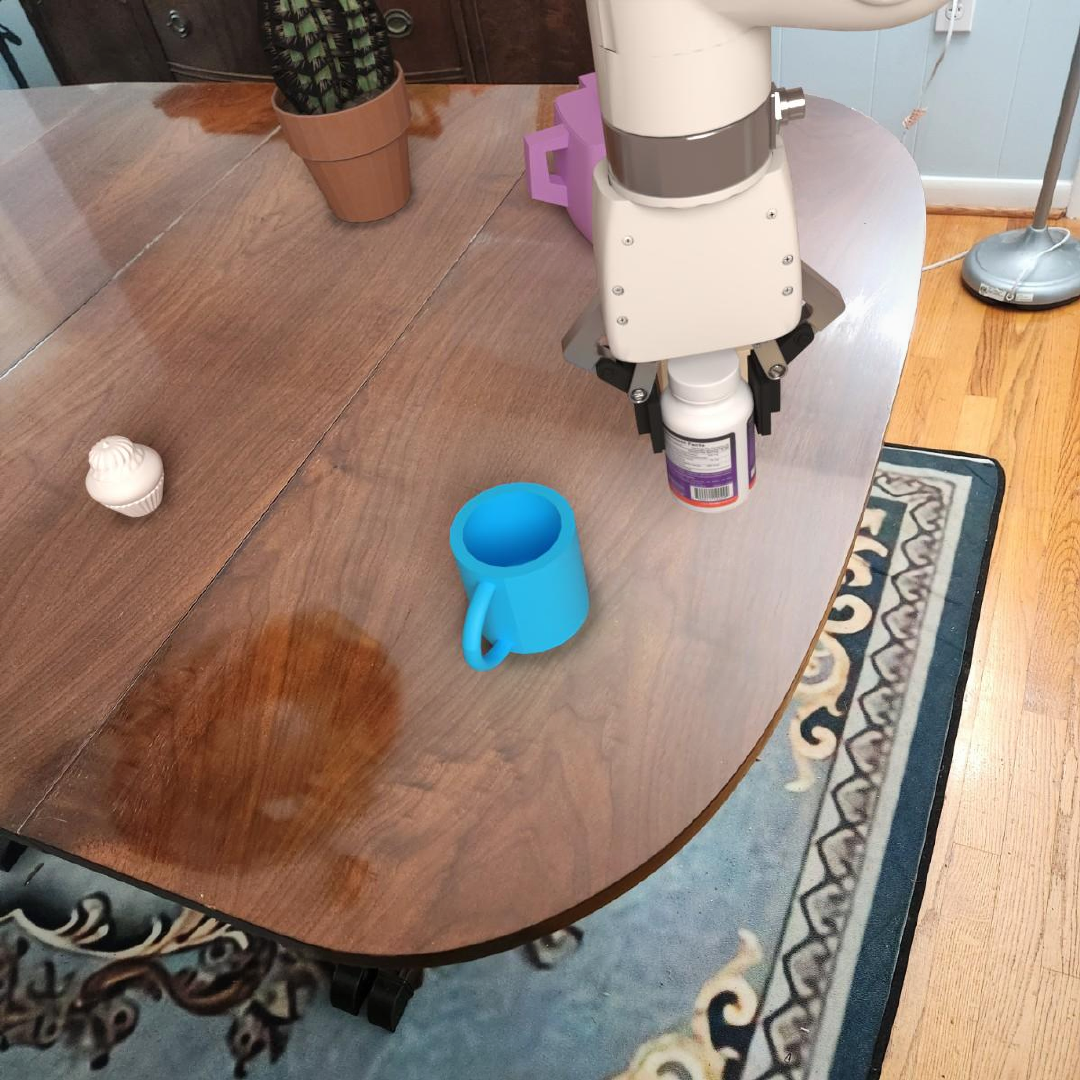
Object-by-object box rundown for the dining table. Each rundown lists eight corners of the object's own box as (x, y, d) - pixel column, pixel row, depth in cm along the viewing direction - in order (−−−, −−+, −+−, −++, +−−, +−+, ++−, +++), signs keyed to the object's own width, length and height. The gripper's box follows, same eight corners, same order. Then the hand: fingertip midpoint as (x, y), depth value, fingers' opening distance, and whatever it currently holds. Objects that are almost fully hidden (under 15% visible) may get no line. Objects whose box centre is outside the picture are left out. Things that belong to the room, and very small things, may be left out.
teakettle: (590, 155, 110) (577, 40, 101) (738, 172, 103) (738, 50, 94) (517, 240, 101) (494, 122, 92) (673, 266, 94) (666, 141, 85)
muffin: (104, 493, 85) (63, 432, 80) (175, 467, 86) (138, 406, 81) (110, 541, 81) (66, 481, 76) (183, 514, 82) (146, 452, 77)
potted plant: (415, 233, 105) (344, -22, 87) (295, 238, 108) (202, -8, 90) (445, 165, 114) (386, -80, 95) (333, 172, 117) (255, -65, 98)
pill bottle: (707, 442, 65) (699, 319, 58) (774, 478, 62) (774, 353, 55) (650, 490, 63) (633, 369, 56) (716, 530, 60) (707, 407, 53)
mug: (504, 549, 74) (483, 471, 68) (607, 575, 71) (594, 496, 65) (428, 680, 67) (397, 606, 61) (538, 715, 64) (516, 641, 58)
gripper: (856, 63, 47) (839, 363, 61) (500, 133, 49) (559, 411, 62) (903, 138, 42) (873, 447, 56) (505, 214, 44) (568, 497, 57)
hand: (707, 426), depth 59 cm, fingers closed on pill bottle, 5 cm apart
